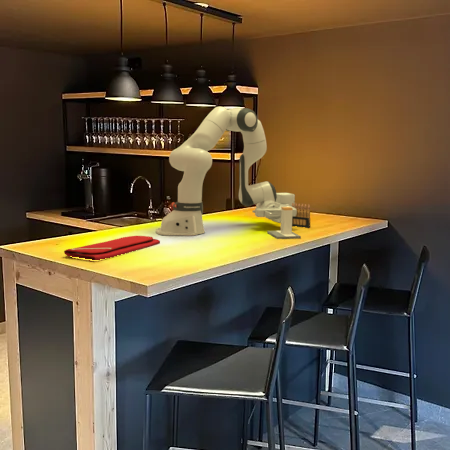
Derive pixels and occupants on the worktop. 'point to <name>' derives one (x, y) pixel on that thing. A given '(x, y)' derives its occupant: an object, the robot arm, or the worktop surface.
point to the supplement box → (284, 201)
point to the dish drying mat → (112, 247)
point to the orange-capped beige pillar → (286, 220)
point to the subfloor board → (283, 235)
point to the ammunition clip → (301, 216)
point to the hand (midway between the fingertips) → (280, 214)
